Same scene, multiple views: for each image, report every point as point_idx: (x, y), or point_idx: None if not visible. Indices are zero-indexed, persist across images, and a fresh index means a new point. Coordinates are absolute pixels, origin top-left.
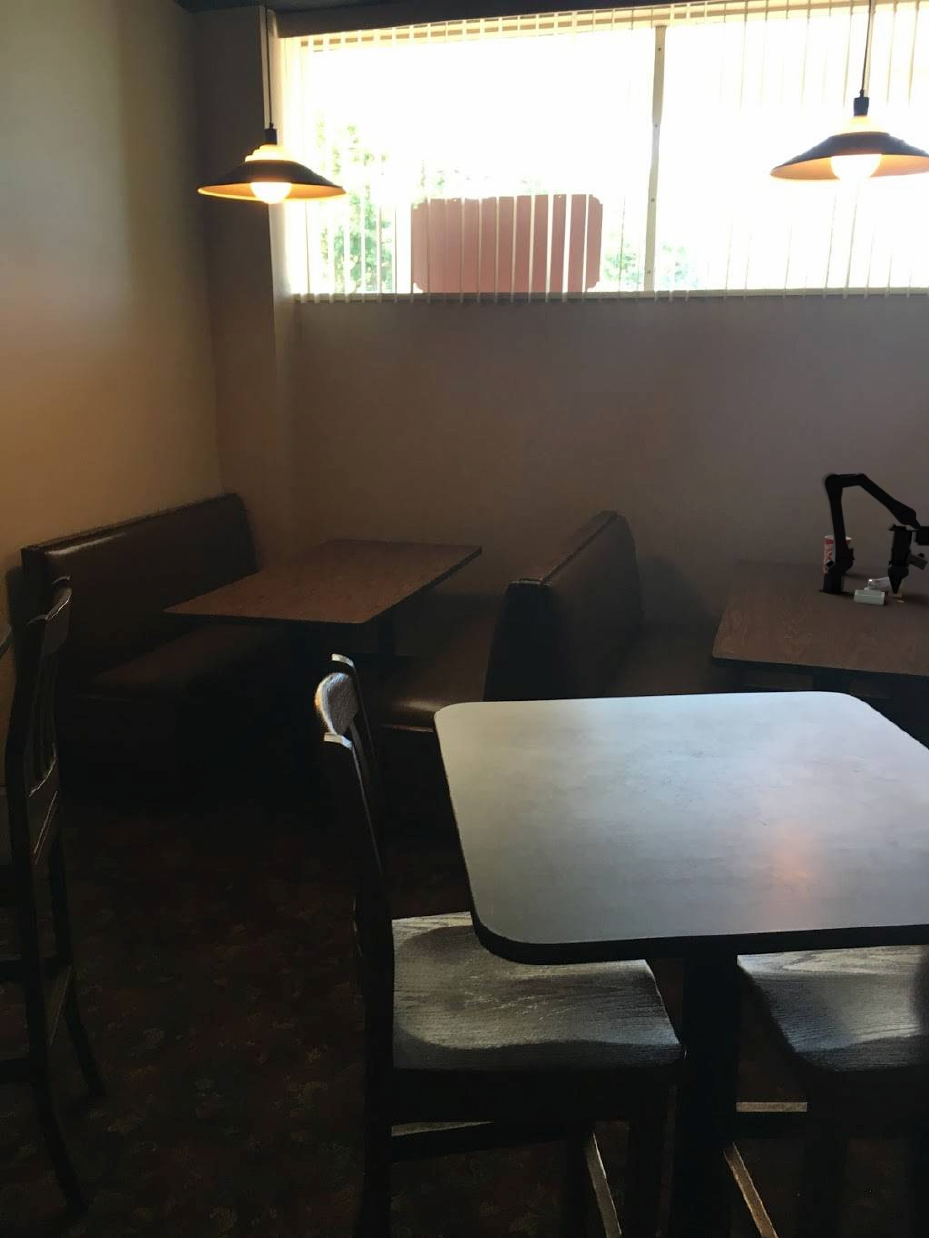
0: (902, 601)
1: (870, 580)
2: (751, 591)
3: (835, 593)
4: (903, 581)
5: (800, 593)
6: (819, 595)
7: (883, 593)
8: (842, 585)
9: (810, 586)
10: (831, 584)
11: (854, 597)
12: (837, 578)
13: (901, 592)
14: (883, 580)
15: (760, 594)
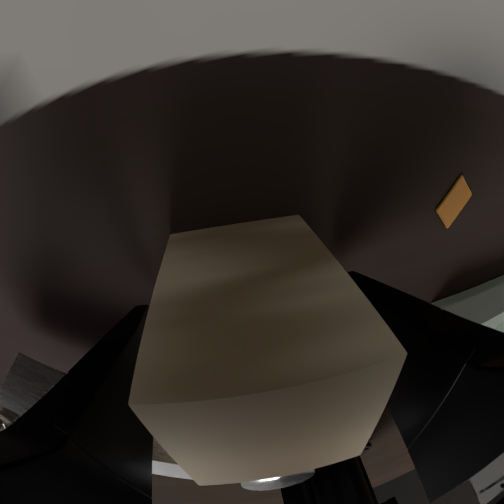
0: (459, 190)
1: (305, 478)
2: (377, 483)
3: (369, 444)
4: (388, 328)
5: (374, 465)
6: (390, 445)
7: (488, 323)
8: (335, 473)
9: (255, 492)
10: (367, 478)
11: None
12: (370, 496)
13: (314, 242)
14: (166, 453)
15: (402, 469)
